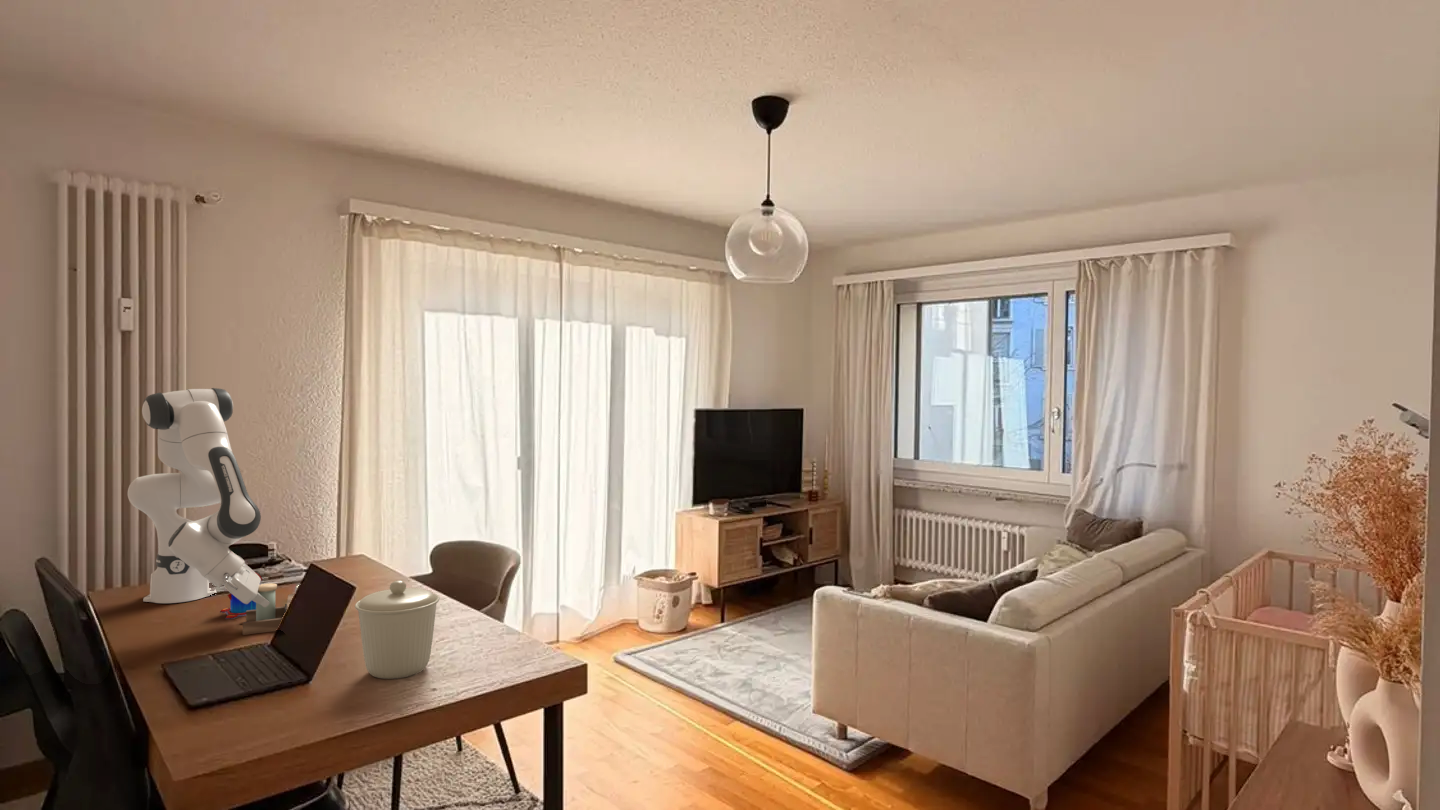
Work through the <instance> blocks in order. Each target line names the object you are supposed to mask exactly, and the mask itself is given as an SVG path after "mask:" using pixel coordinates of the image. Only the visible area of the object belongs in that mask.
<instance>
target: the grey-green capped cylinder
mask: <svg viewBox="0 0 1440 810" xmlns="http://www.w3.org/2000/svg"><path fill="white" fill-rule="evenodd" d="M277 589H278V584H277V583H271V582H270V583H260V585H259V589H258V593H259V594H260V595H261V596H263V597H264V598H266V599H268V600H269V601H270V603H269V605H268V606H267V607H263V606H262V605H260V604H258V603H256V621H258V620H267V619H275V607H276V590H277Z"/></svg>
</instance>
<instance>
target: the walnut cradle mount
mask: <svg viewBox="0 0 1440 810" xmlns="http://www.w3.org/2000/svg"><path fill="white" fill-rule="evenodd" d="M293 596H294V593H293V594H292V593H291V594H288V595H287V599H286V600H287V602H286V604H284V606H275V619H267V620H258V621H256V610H247V611H246V616H245V621H243V622H242V636H244V635H252V634H253V635H254V634H260V633H269V632H277V631H276V629H277V628H278V626H279V624H280V622H281V620H282V619H283V618H282V617H283V615H284V613H285V612H286V610H287V609H288V607H289V604H290V602H291V600H292V598H293Z"/></svg>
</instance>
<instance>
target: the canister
mask: <svg viewBox="0 0 1440 810" xmlns="http://www.w3.org/2000/svg"><path fill="white" fill-rule="evenodd" d="M439 601H440V596H439V595H438V594H436V593H434V592H432V591H431V590H429V589H425V588H420V587H419V588H418V587H407V583H406V582H405V581H404V580H394V581H392V582H391V583H390V585H389V589H384V590H379V591H375V592H372V593H369V594H368V595H366V596H364V597H362V599H360V600H358V601H356V602H355V604H354V608H355V610H356V611H358V620H359V629H360V637H361V638H360V639H361V645H362V652H363V659H364V665H365V668H366V670H367V672H368V673H369V674H370V676H372V677H375V678H378V679H386V680H388V679H389V680H390V679H391V680H392V679H393V680H394V679H403V678H407V677H411V676H414V675H417V674H418V673H420V672H423V670H424V669H426V667H427V666H428V664H429V662H430V657H431V653H432V645H433V637H434V631H435V630H434V629H435V620H436V610H437V604H438V603H439Z"/></svg>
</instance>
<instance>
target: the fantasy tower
mask: <svg viewBox="0 0 1440 810" xmlns="http://www.w3.org/2000/svg"><path fill="white" fill-rule="evenodd" d="M254 572H255V571H254ZM255 573H256V574H257V575H258V576H259V577H260V579H261V581H263V580H264V579H263V578H262V576H261V575H260V574H259V573H258V572H255ZM261 581H260V582H261ZM225 589H226V588H225ZM226 591H228V590H227V589H226ZM227 598H229V600H230V601H229V602H230V605H229V606H230V607H226V608H223V609H221V610H220V611H219V613H221V612H222V613H223V614H226V616H225V618H224V619H225V620H233V619H236V618H240V617H246V611H247V610H256V602H254V601H250V602H249V603H248V604H245V603H243V602H241V601H240V600H239V599H237V598H236V597H235V596H234V595H232V594H231V593H230V592H229V594H227Z"/></svg>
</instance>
